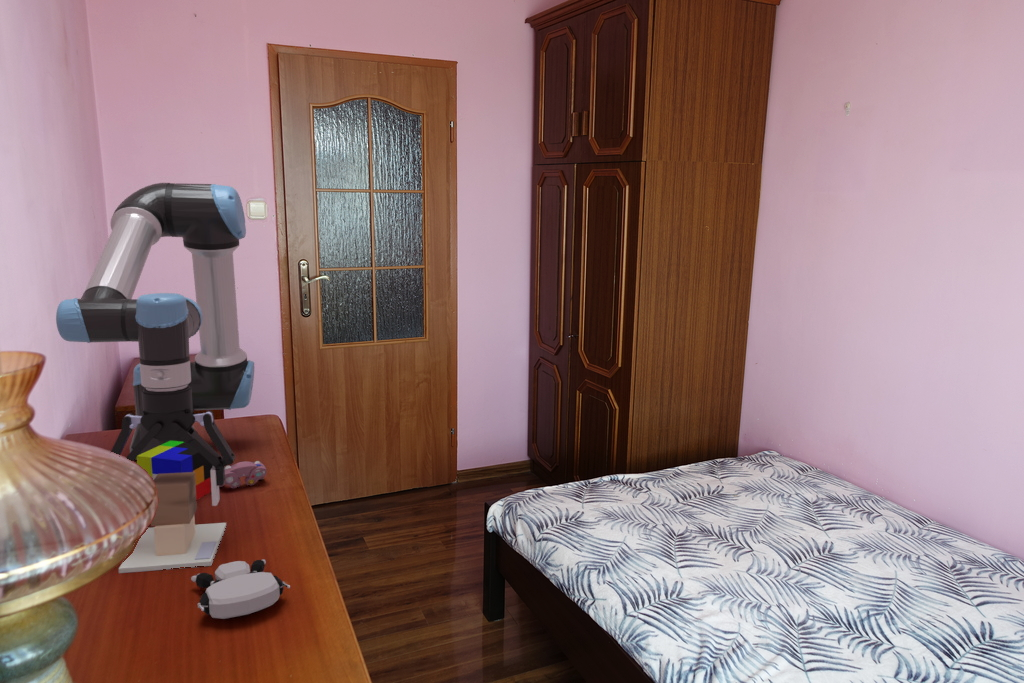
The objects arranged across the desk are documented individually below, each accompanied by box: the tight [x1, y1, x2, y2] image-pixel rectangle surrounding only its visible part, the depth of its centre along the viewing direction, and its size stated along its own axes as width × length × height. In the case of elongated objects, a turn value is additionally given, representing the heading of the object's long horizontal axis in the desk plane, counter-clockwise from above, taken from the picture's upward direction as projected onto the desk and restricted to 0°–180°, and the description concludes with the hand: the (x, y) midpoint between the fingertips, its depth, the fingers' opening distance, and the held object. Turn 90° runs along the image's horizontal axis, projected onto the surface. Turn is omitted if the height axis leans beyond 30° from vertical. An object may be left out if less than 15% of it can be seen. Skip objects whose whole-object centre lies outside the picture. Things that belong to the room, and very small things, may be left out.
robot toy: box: [190, 559, 291, 620], centre depth 105 cm, size 12×4×15 cm
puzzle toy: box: [136, 441, 214, 501], centre depth 142 cm, size 10×10×10 cm
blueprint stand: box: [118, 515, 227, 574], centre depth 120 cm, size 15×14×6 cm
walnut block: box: [150, 472, 198, 527], centre depth 119 cm, size 6×6×7 cm
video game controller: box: [219, 460, 268, 489], centre depth 148 cm, size 10×5×7 cm, turn 123°
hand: (174, 505), depth 119 cm, fingers open, 13 cm apart
